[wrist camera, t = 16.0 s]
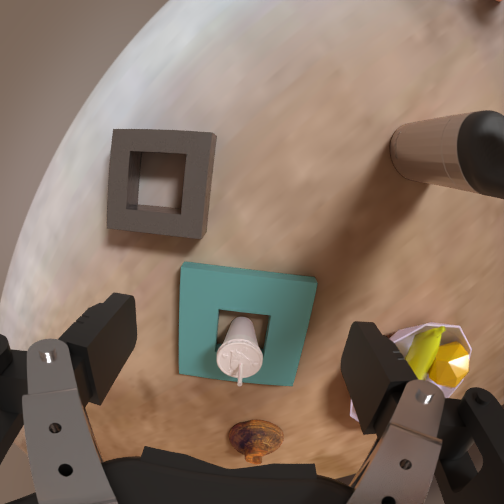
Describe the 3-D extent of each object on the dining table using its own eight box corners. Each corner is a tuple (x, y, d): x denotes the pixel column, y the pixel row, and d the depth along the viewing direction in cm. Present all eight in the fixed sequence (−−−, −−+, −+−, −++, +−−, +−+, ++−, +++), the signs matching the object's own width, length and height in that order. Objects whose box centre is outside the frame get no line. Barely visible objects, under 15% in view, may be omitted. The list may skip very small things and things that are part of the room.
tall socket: (216, 135, 40) (212, 132, 36) (206, 231, 44) (201, 239, 40) (126, 131, 40) (113, 129, 36) (119, 222, 44) (107, 228, 40)
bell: (246, 411, 55) (245, 438, 48) (294, 429, 57) (297, 454, 50) (219, 438, 58) (216, 463, 51) (263, 454, 59) (264, 478, 52)
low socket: (314, 277, 46) (317, 283, 44) (291, 377, 52) (292, 386, 49) (184, 261, 46) (180, 266, 43) (181, 365, 51) (178, 373, 49)
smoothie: (232, 346, 50) (225, 403, 36) (216, 316, 48) (203, 369, 35) (267, 335, 49) (271, 391, 36) (252, 303, 47) (252, 355, 34)
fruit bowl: (426, 408, 56) (444, 439, 45) (324, 412, 55) (333, 453, 44) (478, 304, 48) (510, 330, 37) (370, 291, 47) (397, 324, 36)
